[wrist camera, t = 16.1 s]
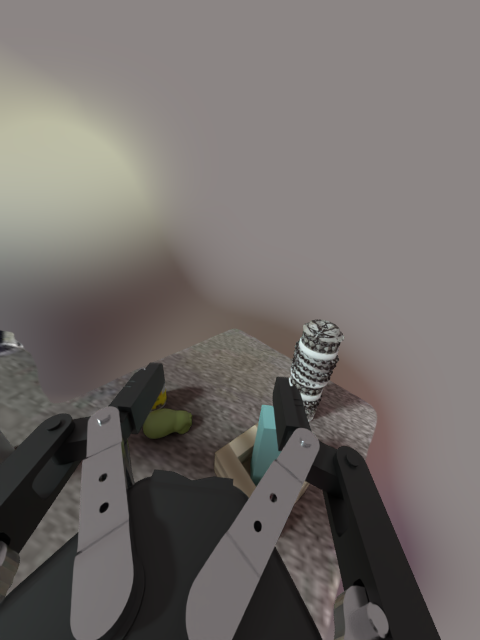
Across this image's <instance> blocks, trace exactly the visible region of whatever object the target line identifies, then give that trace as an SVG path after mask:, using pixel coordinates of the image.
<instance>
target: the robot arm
mask: <svg viewBox="0 0 480 640" xmlns="http://www.w3.org/2000/svg"><path fill="white" fill-rule="evenodd" d="M164 383H165V378H164V370H163V365H162V364H161V363H149V365H148V366H147V367H146V369H145V370H144V369H141V370H139V371H138V372H137V373H135V374H134V375H133V376H132V377H131V379H130V380H129V382H127V384H126V385H125V387H123V389H122V390H121V391H120V392H119V394H118V395H117V396H116V397H115V399H114V400H113V401H112V402H111V404H110V405H109V406H108V407H105V408H102V409H100V410H98V411H96V412H95V413H94V414H93V415H92V416H90V417H85V418H79V419H72V417H71V416H70V415H69V414H58V415H55V416H52V417H50V418H49V419H47V420H45V421H44V422H43V423H41V424H40V425H39V426H38V427H37V428H36V429H35V430H34V431H33V432H32V433H31V434H30V435H29V436H28V437H27V438H26V439H25V440H24V441H23V442H22V443H21V444H20V445H19V446H18V447H17V448H16V449H15V448H14V447H13V446H12V445H11V444H10V442H9V441H8V440H7V438H6V437H5V436H4V435H3V433H2V432H1V431H0V640H322V638H321V635H320V633H319V631H318V629H317V627H316V625H315V623H314V621H313V619H312V617H311V615H310V613H309V611H308V609H307V607H306V605H305V603H304V601H303V599H302V597H301V596H300V594H299V592H298V590H297V588H296V586H295V584H294V582H293V580H292V578H291V576H290V574H289V572H288V570H287V568H286V566H285V564H284V562H283V561H282V559H281V557H280V555H279V553H278V551H277V549H276V547H275V545H276V542H277V540H278V538H279V536H280V534H281V532H282V529H283V527H284V525H285V523H286V521H287V518H288V516H289V514H290V512H291V510H292V508H293V505H294V503H295V501H296V499H297V497H298V495H299V492H300V490H301V488H302V486H303V483H304V481H306V482H308V483H310V484H312V485H314V486H316V487H318V488H320V489H322V490H323V495H324V499H325V504H326V509H327V513H328V518H329V523H330V527H331V532H332V536H333V541H334V546H335V550H336V555H337V560H338V564H339V569H340V574H341V578H342V582H343V587H344V592H343V593H341V594H340V595H339V596H338V597H337V599H336V600H335V604H334V624H335V635H334V640H441V639H440V636H439V634H438V632H437V629H436V627H435V625H434V622H433V620H432V617H431V615H430V613H429V611H428V608H427V606H426V603H425V601H424V599H423V596H422V594H421V592H420V589H419V587H418V585H417V582H416V580H415V578H414V575H413V573H412V570H411V568H410V566H409V563H408V561H407V559H406V556H405V554H404V552H403V549H402V547H401V544H400V542H399V540H398V537H397V535H396V533H395V530H394V528H393V526H392V523H391V521H390V518H389V516H388V514H387V512H386V509H385V507H384V505H383V502H382V500H381V497H380V495H379V493H378V490H377V488H376V486H375V483H374V481H373V478H372V476H371V474H370V471H369V469H368V467H367V464H366V462H365V460H364V459H363V457H362V456H361V455H360V454H359V453H358V452H357V451H356V450H354V449H352V448H350V447H347V446H341V447H339V448H338V449H335V448H332V447H330V446H328V445H325V444H323V443H322V442H320V441H319V440H318V439H317V437H316V436H315V434H314V433H312V431H311V429H310V425H309V422H308V418H307V415H306V411H305V408H304V404H303V401H302V397H301V393H300V392H299V390H298V389H297V388H296V386H290V383H289V379H288V378H286V377H277V378H276V382H275V386H274V391H273V408H274V417H275V426H276V435H277V444H278V451H281V453H280V455H279V456H278V458H277V459H276V460H274V461H273V462H272V464H271V465H270V467H269V468H268V470H267V471H266V473H265V474H264V476H263V477H262V479H261V481H260V482H259V484H258V485H257V487H256V488H255V490H254V491H253V493H252V495H251V496H250V498H249V497H248V496H247V495H246V494H245V493H244V492H243V491H242V490H240V489H239V488H237V487H236V486H234V485H233V479H231V478H223V477H209V478H204V479H199V480H190V479H188V478H186V477H184V476H182V475H180V474H177V473H175V472H172V471H163V470H154V472H153V475H152V476H151V477H147V478H144V479H142V480H140V481H138V482H136V483H135V482H134V478H133V473H132V467H131V460H130V453H129V446H128V440H127V439H128V438H129V436H130V434H131V433H132V434H138V433H139V431H140V429H141V427H142V426H143V424H144V422H145V420H146V418H147V416H148V415H149V413H150V411H151V409H152V407H153V406H154V404H155V402H156V400H157V398H158V397H159V395H160V393H161V391H162V389H163V387H164ZM81 460H83V462H82V475H81V495H80V514H79V532H78V533H77V534H76V535H74V536H73V537H72V538H71V539H70V540H69V541H68V542H66V543H65V544H64V545H63V546H62V547H61V548H60V549H59V550H57V551H56V552H55V553H54V554H53V555H52V556H51V557H50V558H48V559H47V560H46V561H45V562H44V563H43V564H42V565H41V566H39V567H38V568H37V569H36V570H35V571H34V572H33V573H31V574H30V575H29V576H28V577H27V578H26V579H25V580H24V581H22V582H21V583H20V584H19V585H18V586H17V587H16V588H15V589H14V590H12V591H11V592H10V593H9V594H8V595H7V596H6V593H7V591H8V589H9V588H10V587H11V585H12V583H13V579H14V576H15V574H16V572H17V570H18V567H19V563H20V556H19V553H20V551H21V550H22V548H23V547H24V545H25V544H26V542H27V541H28V539H29V538H30V536H31V535H32V533H33V532H34V530H35V529H36V527H37V526H38V524H39V523H40V521H41V520H42V518H43V517H44V515H45V514H46V512H47V511H48V509H49V508H50V506H51V505H52V503H53V502H54V500H55V499H56V497H57V496H58V494H59V493H60V491H61V490H62V489H63V487H64V486H65V484H66V483H67V481H68V480H69V478H70V477H71V475H72V474H73V472H74V471H75V469H76V468H77V466H78V465H79V463H80V462H81ZM5 596H6V597H5Z"/></svg>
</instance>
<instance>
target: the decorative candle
mask: <svg viewBox="0 0 480 640" xmlns="http://www.w3.org/2000/svg"><path fill="white" fill-rule="evenodd" d="M303 330H304V331H303V335H302V337H301V339H300V340H299V341H298V342H296V346H295V349H296V350H295V351H294V352H295V353H294V358H293V359H292V361H293V362H292V366H291V377H290V378H289V383H290V386H296V388H297V389H298V390H299V392H300V393H301V397H302V401H303V404H304V408H305V411H306V415H307V418H308V422H310V421H311V420H312V419H313V417H314V415H315V411H316V410H317V408H316V407H317V406H318V405H319V402H320V401H321V397H322V391H323V387H324V386H326V384H327V382H328V380H330V376H331V374H332V373H333V371H332V370H333V369H334V368H335V367H336V363H337V362H338V361H339V358H338V355H337V353H338V351H339V345H340V343H341V341H343V339H344V336H343V334H342V333H341V332H340V330H339V328H338V327H337V326H336V325H335V324H333V323H331V322H328V321H325V320H313V321H311V322H310V323H307V324H305V325H304V326H303ZM298 346H299V347H298ZM329 371H330V372H329ZM314 410H315V411H314Z"/></svg>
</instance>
